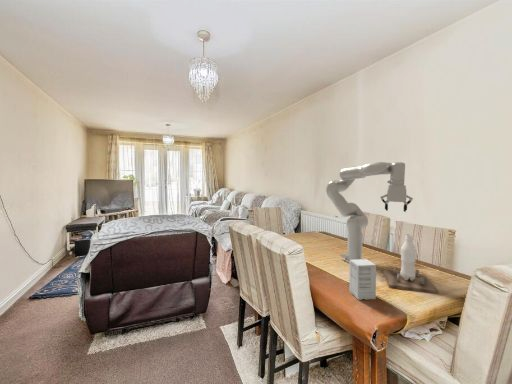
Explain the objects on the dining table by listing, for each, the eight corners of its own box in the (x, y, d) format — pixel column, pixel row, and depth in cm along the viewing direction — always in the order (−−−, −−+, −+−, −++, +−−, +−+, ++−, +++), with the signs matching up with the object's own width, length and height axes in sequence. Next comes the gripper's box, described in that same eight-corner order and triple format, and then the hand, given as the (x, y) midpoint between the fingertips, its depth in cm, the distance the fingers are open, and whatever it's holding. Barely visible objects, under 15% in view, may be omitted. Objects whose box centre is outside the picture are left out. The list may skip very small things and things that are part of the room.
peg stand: (389, 287, 134) (389, 277, 133) (383, 272, 154) (383, 263, 154) (438, 293, 126) (438, 283, 126) (425, 277, 147) (425, 267, 146)
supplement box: (376, 299, 121) (377, 265, 120) (357, 300, 120) (358, 265, 119) (365, 290, 130) (366, 258, 129) (348, 291, 130) (349, 259, 129)
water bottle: (397, 276, 144) (398, 233, 142) (409, 276, 144) (410, 233, 143) (405, 282, 136) (407, 236, 135) (418, 281, 137) (419, 236, 136)
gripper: (381, 182, 152) (380, 210, 153) (415, 183, 146) (413, 212, 147) (380, 182, 159) (379, 209, 160) (412, 183, 153) (410, 211, 154)
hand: (395, 210), depth 154 cm, fingers open, 9 cm apart
